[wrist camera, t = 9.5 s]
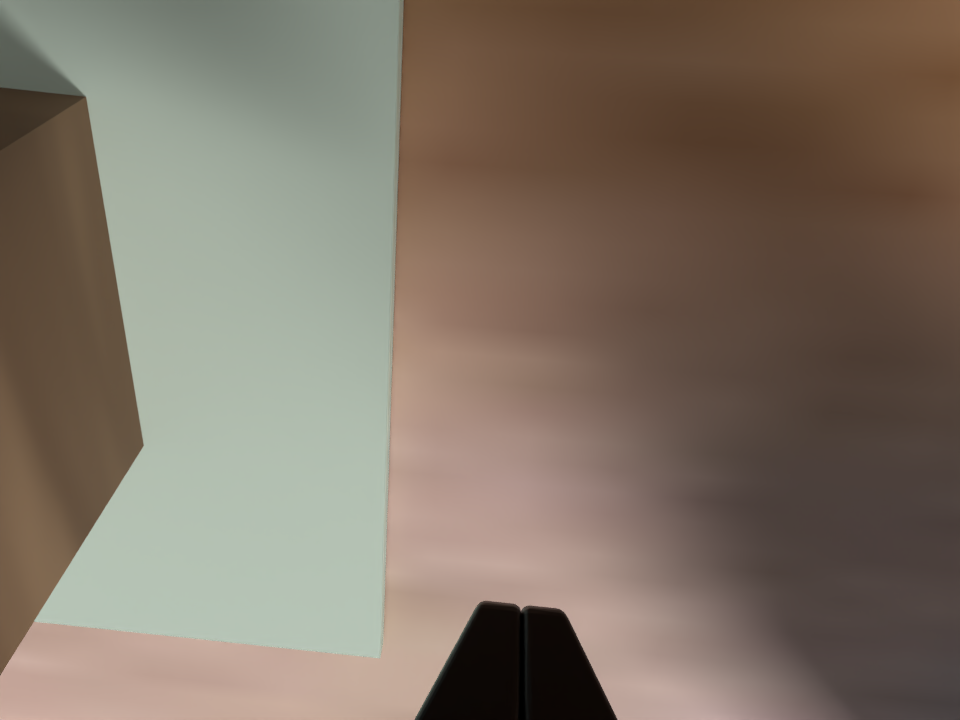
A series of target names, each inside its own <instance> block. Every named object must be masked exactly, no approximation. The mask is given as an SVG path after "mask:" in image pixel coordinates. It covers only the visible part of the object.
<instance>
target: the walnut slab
mask: <svg viewBox="0 0 960 720" xmlns="http://www.w3.org/2000/svg"><path fill="white" fill-rule="evenodd" d="M143 446H144V444H143V438H142V431H141V425H140V419H139V413H138V407H137V401H136V395H135V389H134V383H133V377H132V371H131V365H130V359H129V353H128V347H127V341H126V335H125V329H124V323H123V317H122V310H121V304H120V298H119V292H118V286H117V280H116V274H115V268H114V262H113V256H112V250H111V244H110V238H109V232H108V226H107V220H106V214H105V208H104V202H103V196H102V189H101V183H100V177H99V171H98V165H97V159H96V153H95V147H94V141H93V135H92V129H91V123H90V117H89V111H88V105H87V99H86V97H84V96H75V95H66V94H57V93H48V92H38V91H29V90H20V89H11V88H2V87H0V675H1V673H2V671H3V670H4V668H5V667H6V665H7V663H8V662H9V660H10V659H11V657H12V656H13V654H14V652H15V651H16V649H17V648H18V646H19V644H20V643H21V641H22V640H23V638H24V636H25V635H26V633H27V632H28V630H29V628H30V627H31V625H32V624H33V622H34V620H35V619H36V617H37V616H38V614H39V612H40V611H41V609H42V608H43V606H44V604H45V603H46V601H47V600H48V598H49V596H50V595H51V593H52V592H53V590H54V588H55V587H56V585H57V584H58V582H59V580H60V579H61V577H62V576H63V574H64V572H65V571H66V569H67V568H68V566H69V565H70V563H71V561H72V560H73V558H74V557H75V555H76V553H77V552H78V550H79V549H80V547H81V545H82V544H83V542H84V541H85V539H86V537H87V536H88V534H89V533H90V531H91V529H92V528H93V526H94V525H95V523H96V521H97V520H98V518H99V517H100V515H101V513H102V512H103V510H104V509H105V507H106V505H107V504H108V502H109V501H110V499H111V497H112V496H113V494H114V493H115V491H116V489H117V488H118V486H119V485H120V483H121V481H122V480H123V478H124V477H125V475H126V474H127V472H128V470H129V469H130V467H131V466H132V464H133V462H134V461H135V459H136V458H137V456H138V454H139V453H140V451H141V450H142V448H143Z"/></svg>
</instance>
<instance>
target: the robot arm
mask: <svg viewBox="0 0 960 720" xmlns="http://www.w3.org/2000/svg"><path fill="white" fill-rule="evenodd" d="M415 720H617V718H616V716H615V714H614V711H613V709H612V707H611V705H610V703H609V701H608V699H607V697H606V695H605V693H604V691H603V689H602V687H601V685H600V683H599V681H598V679H597V677H596V675H595V672H594V670H593V668H592V666H591V664H590V662H589V660H588V658H587V656H586V654H585V652H584V650H583V648H582V646H581V644H580V642H579V640H578V638H577V636H576V633H575V631H574V629H573V627H572V625H571V623H570V621H569V619H568V617H567V616H566V614H565V613H564V612H563V611H562V610H560V609H557V608H548V607H538V606H526V607H524V608H523V609H522V610H520V608H519V607H518V606H517V605H515V604H511V603H501V602H492V601H483V602H480V603H479V604H478V605H477V607H476V608H475V610H474V612H473V614H472V616H471V617H470V619H469V621H468V623H467V625H466V627H465V628H464V630H463V632H462V634H461V636H460V638H459V639H458V641H457V643H456V645H455V647H454V649H453V650H452V652H451V654H450V656H449V658H448V660H447V661H446V663H445V665H444V667H443V669H442V670H441V672H440V674H439V676H438V678H437V680H436V681H435V683H434V685H433V687H432V689H431V691H430V692H429V694H428V696H427V698H426V700H425V702H424V703H423V705H422V707H421V709H420V711H419V713H418V714H417V716H416V718H415Z"/></svg>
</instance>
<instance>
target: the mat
mask: <svg viewBox="0 0 960 720" xmlns="http://www.w3.org/2000/svg"><path fill="white" fill-rule="evenodd" d="M403 10H404V0H0V87H2V88H11V89H20V90H29V91H38V92H48V93H57V94H66V95H75V96H84V97H86V99H87V105H88V111H89V117H90V123H91V129H92V135H93V141H94V147H95V153H96V159H97V165H98V171H99V177H100V183H101V189H102V196H103V202H104V208H105V214H106V220H107V226H108V232H109V238H110V244H111V250H112V256H113V262H114V268H115V274H116V280H117V286H118V292H119V298H120V304H121V310H122V317H123V323H124V329H125V335H126V341H127V347H128V353H129V359H130V365H131V371H132V377H133V383H134V389H135V395H136V401H137V407H138V413H139V419H140V425H141V431H142V438H143V444H144V446H143V448H142V450H141V451H140V453H139V454H138V456H137V458H136V459H135V461H134V462H133V464H132V466H131V467H130V469H129V470H128V472H127V474H126V475H125V477H124V478H123V480H122V481H121V483H120V485H119V486H118V488H117V489H116V491H115V493H114V494H113V496H112V497H111V499H110V501H109V502H108V504H107V505H106V507H105V509H104V510H103V512H102V513H101V515H100V517H99V518H98V520H97V521H96V523H95V525H94V526H93V528H92V529H91V531H90V533H89V534H88V536H87V537H86V539H85V541H84V542H83V544H82V545H81V547H80V549H79V550H78V552H77V553H76V555H75V557H74V558H73V560H72V561H71V563H70V565H69V566H68V568H67V569H66V571H65V572H64V574H63V576H62V577H61V579H60V580H59V582H58V584H57V585H56V587H55V588H54V590H53V592H52V593H51V595H50V596H49V598H48V600H47V601H46V603H45V604H44V606H43V608H42V609H41V611H40V612H39V614H38V616H37V617H36V619H35V620H34V622H43V623H52V624H62V625H71V626H81V627H90V628H99V629H109V630H118V631H128V632H137V633H146V634H156V635H165V636H175V637H184V638H194V639H203V640H212V641H222V642H231V643H241V644H250V645H259V646H269V647H278V648H288V649H297V650H307V651H316V652H325V653H335V654H344V655H354V656H363V657H372V658H380V656H381V651H382V645H383V630H384V599H385V568H386V537H387V506H388V475H389V444H390V413H391V382H392V351H393V320H394V289H395V258H396V227H397V196H398V165H399V134H400V103H401V72H402V41H403Z"/></svg>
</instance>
